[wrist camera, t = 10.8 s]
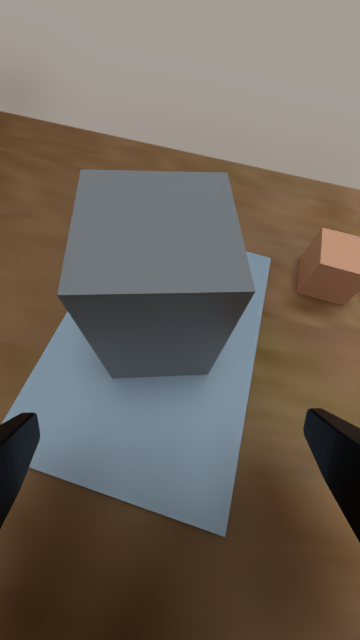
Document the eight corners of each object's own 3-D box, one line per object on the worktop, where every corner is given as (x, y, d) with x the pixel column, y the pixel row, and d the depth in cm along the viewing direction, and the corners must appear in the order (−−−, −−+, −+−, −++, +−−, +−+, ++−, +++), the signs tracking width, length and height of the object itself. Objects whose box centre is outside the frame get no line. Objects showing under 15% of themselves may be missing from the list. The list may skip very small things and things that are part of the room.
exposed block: (341, 306, 22) (375, 278, 19) (295, 293, 23) (320, 263, 19) (341, 271, 24) (372, 240, 21) (299, 260, 25) (322, 227, 21)
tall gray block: (208, 374, 17) (255, 291, 9) (112, 378, 17) (57, 295, 8) (199, 295, 20) (227, 172, 12) (117, 296, 20) (80, 169, 11)
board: (220, 531, 14) (225, 537, 13) (-3, 451, 16) (-15, 451, 15) (266, 266, 24) (270, 258, 23) (123, 228, 25) (122, 218, 24)
